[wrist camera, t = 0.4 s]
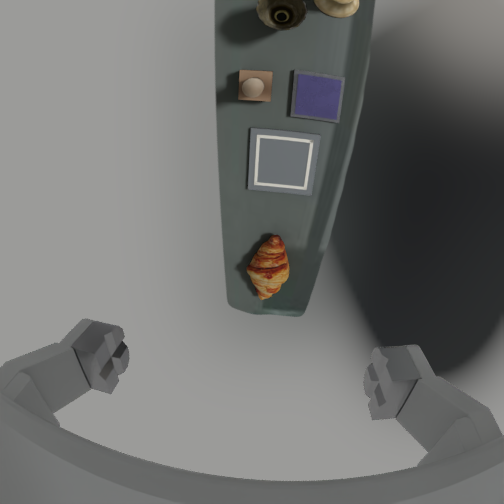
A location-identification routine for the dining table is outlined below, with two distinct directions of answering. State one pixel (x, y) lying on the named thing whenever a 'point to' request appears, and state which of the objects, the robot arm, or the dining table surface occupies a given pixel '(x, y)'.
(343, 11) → the hand bell
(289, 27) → the cup
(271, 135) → the board
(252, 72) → the stamp
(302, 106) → the ink pad
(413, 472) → the robot arm
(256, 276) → the croissant
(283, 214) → the dining table surface
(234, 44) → the dining table surface
